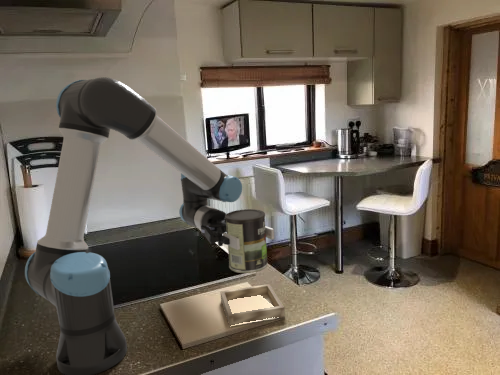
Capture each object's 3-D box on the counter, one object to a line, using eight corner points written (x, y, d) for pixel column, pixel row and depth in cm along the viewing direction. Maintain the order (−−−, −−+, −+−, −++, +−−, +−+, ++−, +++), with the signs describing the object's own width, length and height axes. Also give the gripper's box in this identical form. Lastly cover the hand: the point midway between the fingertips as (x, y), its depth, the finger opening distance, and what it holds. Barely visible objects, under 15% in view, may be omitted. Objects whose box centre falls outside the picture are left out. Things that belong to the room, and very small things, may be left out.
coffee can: (270, 258, 115) (267, 208, 112) (264, 274, 106) (261, 220, 103) (233, 257, 118) (230, 208, 115) (224, 273, 108) (220, 220, 105)
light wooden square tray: (229, 327, 106) (229, 316, 105) (221, 301, 120) (220, 291, 119) (284, 317, 109) (284, 307, 108) (270, 293, 122) (269, 283, 122)
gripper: (244, 224, 131) (291, 242, 113) (178, 242, 119) (218, 265, 101) (243, 201, 130) (289, 215, 112) (175, 216, 117) (216, 235, 99)
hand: (256, 239), depth 106 cm, fingers closed on coffee can, 10 cm apart
